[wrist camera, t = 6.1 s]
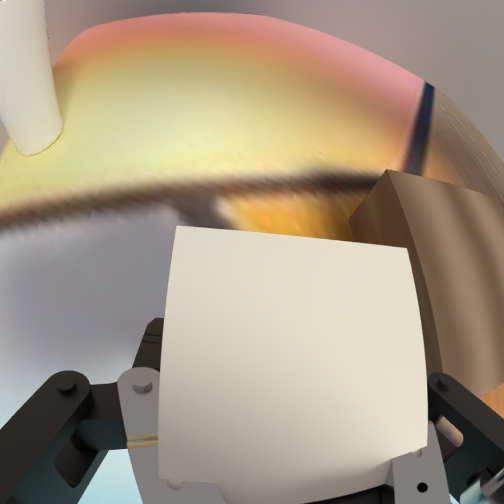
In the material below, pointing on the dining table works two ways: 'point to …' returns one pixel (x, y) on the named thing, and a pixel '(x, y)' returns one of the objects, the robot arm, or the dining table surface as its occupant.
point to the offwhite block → (288, 366)
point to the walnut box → (446, 269)
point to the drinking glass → (27, 77)
